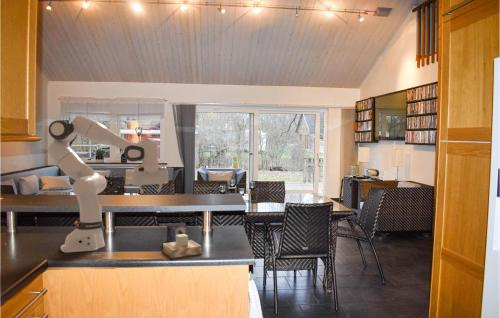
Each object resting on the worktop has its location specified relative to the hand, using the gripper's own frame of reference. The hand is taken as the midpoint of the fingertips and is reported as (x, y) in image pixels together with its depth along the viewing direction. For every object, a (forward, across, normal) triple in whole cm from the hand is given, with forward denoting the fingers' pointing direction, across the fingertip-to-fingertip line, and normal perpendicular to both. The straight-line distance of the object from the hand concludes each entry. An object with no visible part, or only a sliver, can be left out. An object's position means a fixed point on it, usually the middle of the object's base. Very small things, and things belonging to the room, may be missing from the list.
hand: (150, 192), depth 235 cm
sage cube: (+25, -10, +23) cm, 35 cm away
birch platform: (+29, -10, +23) cm, 38 cm away
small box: (+29, -14, +3) cm, 33 cm away
